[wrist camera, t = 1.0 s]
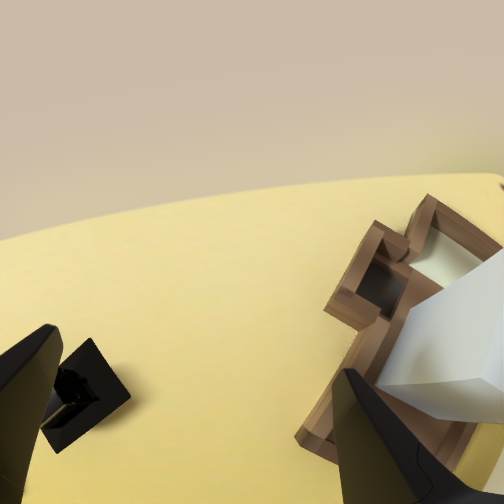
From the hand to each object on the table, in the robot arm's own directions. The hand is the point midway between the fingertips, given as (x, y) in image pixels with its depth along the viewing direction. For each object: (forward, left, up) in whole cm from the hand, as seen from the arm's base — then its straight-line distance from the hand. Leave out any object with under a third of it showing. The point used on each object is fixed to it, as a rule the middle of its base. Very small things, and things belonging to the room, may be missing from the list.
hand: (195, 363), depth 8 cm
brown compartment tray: (-10, -10, -12) cm, 18 cm away
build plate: (+7, +11, -13) cm, 18 cm away
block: (-10, -9, -11) cm, 17 cm away
